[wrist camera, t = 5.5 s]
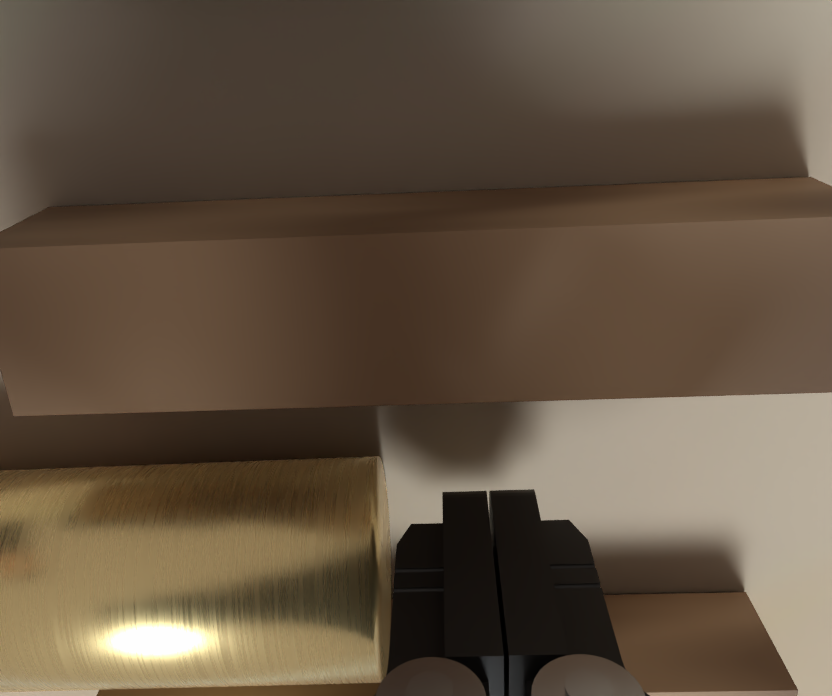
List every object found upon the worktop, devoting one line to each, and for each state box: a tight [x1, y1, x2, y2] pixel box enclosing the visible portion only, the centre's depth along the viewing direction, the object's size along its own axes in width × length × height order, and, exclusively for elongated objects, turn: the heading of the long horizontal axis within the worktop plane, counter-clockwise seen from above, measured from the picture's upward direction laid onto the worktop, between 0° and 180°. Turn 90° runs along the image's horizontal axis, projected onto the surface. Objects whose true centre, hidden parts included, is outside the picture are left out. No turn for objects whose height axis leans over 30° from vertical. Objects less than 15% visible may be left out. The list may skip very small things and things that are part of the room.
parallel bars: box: [0, 177, 832, 696], centre depth 13 cm, size 12×11×2 cm
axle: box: [0, 456, 391, 692], centre depth 13 cm, size 10×4×4 cm, turn 93°
